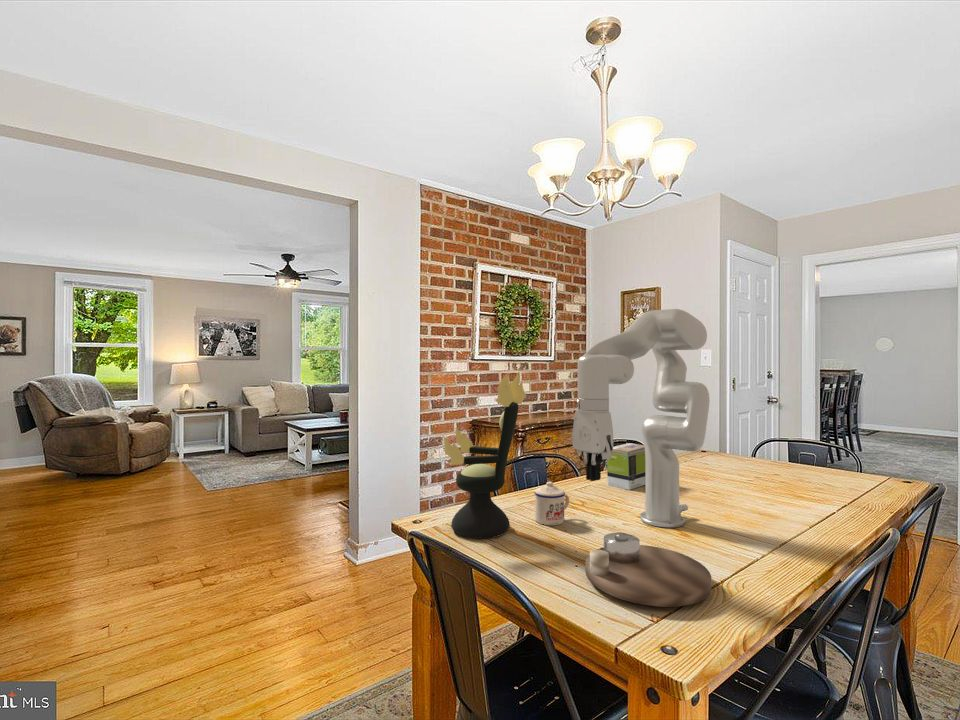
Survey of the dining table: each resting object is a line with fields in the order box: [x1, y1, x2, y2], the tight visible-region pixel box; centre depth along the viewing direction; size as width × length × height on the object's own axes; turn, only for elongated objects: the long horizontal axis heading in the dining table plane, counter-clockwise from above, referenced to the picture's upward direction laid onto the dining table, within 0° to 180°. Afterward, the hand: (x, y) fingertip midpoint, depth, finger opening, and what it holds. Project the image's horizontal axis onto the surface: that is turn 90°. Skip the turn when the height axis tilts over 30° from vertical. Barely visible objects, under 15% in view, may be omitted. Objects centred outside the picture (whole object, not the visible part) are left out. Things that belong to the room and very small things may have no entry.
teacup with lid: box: [534, 481, 570, 526], centre depth 148 cm, size 12×9×12 cm
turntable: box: [585, 544, 712, 608], centre depth 107 cm, size 26×26×6 cm
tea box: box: [606, 442, 645, 491], centre depth 188 cm, size 15×10×15 cm
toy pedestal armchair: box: [443, 372, 527, 539], centre depth 140 cm, size 19×22×45 cm
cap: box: [603, 532, 641, 564], centre depth 113 cm, size 8×8×5 cm
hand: (593, 479), depth 121 cm, fingers closed
